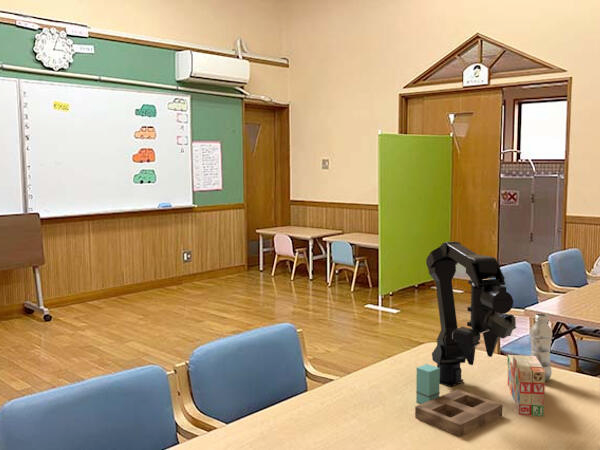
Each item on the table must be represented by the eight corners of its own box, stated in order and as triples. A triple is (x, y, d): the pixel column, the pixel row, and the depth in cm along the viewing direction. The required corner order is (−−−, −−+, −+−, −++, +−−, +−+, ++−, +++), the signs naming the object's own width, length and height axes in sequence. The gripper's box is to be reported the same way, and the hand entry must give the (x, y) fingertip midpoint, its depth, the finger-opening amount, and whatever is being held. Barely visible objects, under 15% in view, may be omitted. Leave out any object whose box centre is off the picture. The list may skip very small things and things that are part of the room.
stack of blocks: (506, 384, 174) (507, 344, 173) (529, 386, 173) (530, 345, 171) (518, 415, 153) (519, 369, 152) (544, 417, 152) (545, 371, 151)
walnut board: (415, 417, 152) (415, 406, 152) (457, 399, 164) (457, 389, 163) (460, 436, 142) (460, 424, 141) (502, 415, 153) (502, 404, 152)
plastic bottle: (553, 378, 178) (555, 313, 176) (549, 385, 173) (551, 319, 171) (530, 374, 182) (532, 311, 180) (526, 381, 176) (527, 316, 174)
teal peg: (416, 402, 162) (416, 367, 161) (426, 398, 165) (426, 363, 164) (429, 407, 159) (429, 371, 158) (439, 403, 161) (439, 368, 160)
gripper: (490, 316, 143) (488, 378, 145) (528, 303, 155) (526, 359, 157) (451, 308, 151) (450, 366, 153) (490, 295, 164) (489, 349, 166)
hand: (480, 360), depth 157 cm, fingers open, 9 cm apart
